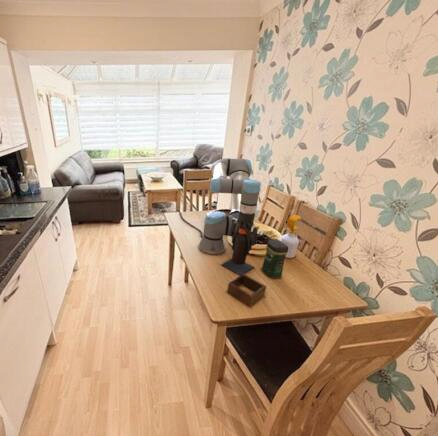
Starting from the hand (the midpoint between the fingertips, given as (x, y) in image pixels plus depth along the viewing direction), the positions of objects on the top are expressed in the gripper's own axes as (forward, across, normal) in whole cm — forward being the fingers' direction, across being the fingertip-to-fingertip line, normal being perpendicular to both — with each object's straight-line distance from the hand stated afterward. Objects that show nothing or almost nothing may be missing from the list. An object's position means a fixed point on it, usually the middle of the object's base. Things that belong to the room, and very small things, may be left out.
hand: (240, 251), depth 126 cm
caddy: (+9, +15, -16) cm, 24 cm away
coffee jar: (+10, +14, +9) cm, 19 cm away
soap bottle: (+10, +10, +34) cm, 37 cm away
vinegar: (+6, 0, 0) cm, 6 cm away
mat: (+9, 0, 0) cm, 9 cm away
